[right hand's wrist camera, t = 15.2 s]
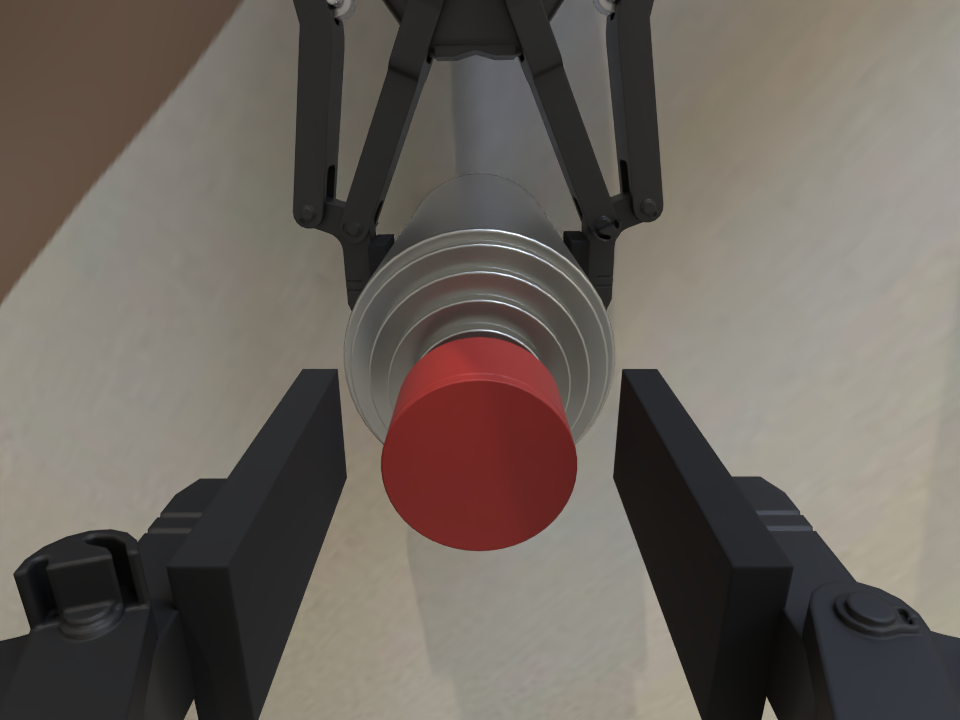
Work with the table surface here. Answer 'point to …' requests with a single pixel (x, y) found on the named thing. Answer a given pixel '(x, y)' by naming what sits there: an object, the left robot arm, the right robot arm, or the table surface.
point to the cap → (479, 446)
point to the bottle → (479, 299)
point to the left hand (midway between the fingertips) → (481, 377)
